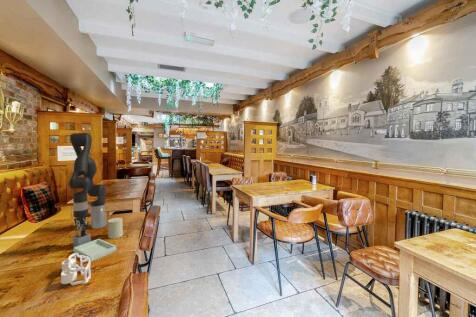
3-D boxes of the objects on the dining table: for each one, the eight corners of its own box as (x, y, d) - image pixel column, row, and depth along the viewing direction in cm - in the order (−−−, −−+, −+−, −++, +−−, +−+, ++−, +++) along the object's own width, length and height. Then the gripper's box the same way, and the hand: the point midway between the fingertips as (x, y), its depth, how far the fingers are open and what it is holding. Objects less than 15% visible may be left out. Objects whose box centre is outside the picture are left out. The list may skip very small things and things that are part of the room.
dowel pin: (83, 242, 134) (83, 227, 134) (86, 243, 133) (85, 228, 132) (77, 244, 131) (77, 228, 131) (80, 245, 130) (79, 229, 129)
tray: (98, 243, 135) (98, 238, 135) (116, 250, 125) (116, 246, 125) (73, 252, 123) (73, 247, 123) (90, 262, 113) (90, 256, 113)
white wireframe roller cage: (62, 270, 106) (61, 256, 105) (88, 262, 113) (88, 249, 112) (61, 291, 90) (60, 275, 90) (91, 281, 97) (91, 266, 97)
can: (109, 239, 140) (108, 222, 139) (106, 235, 147) (106, 218, 146) (124, 236, 146) (124, 219, 145) (121, 232, 153) (121, 216, 152)
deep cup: (85, 241, 137) (85, 232, 136) (91, 244, 133) (90, 234, 133) (73, 246, 131) (72, 236, 130) (78, 248, 127) (78, 238, 127)
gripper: (93, 208, 130) (94, 235, 131) (82, 205, 137) (83, 230, 138) (79, 212, 124) (80, 240, 125) (68, 208, 131) (69, 235, 132)
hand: (81, 235), depth 132 cm, fingers closed on dowel pin, 3 cm apart
